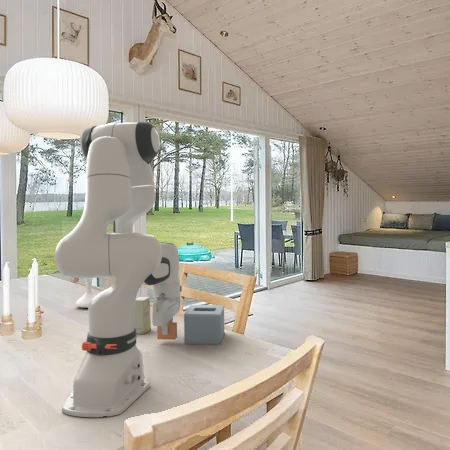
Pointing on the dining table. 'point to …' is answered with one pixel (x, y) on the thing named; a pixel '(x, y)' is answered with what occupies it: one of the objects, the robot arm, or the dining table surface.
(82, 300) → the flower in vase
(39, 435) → the dining table surface
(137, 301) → the skincare box
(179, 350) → the dining table surface
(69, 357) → the dining table surface
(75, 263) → the robot arm
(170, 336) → the token
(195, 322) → the coin box
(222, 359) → the dining table surface
